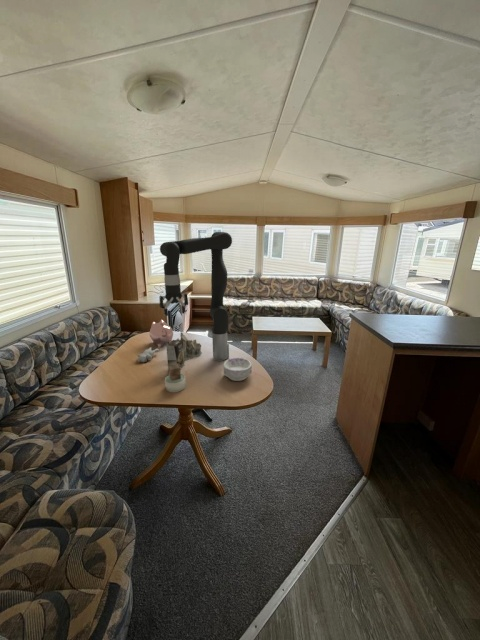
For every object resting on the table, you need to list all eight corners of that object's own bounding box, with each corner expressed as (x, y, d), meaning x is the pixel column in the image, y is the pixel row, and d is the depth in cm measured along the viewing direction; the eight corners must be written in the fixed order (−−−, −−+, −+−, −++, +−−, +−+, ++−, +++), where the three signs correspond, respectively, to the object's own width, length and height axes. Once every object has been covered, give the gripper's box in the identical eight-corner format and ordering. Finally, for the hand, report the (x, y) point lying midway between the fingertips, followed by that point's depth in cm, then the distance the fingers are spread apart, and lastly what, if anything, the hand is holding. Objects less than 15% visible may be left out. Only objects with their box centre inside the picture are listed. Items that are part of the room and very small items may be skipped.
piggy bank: (166, 337, 199) (165, 317, 194) (177, 344, 186) (176, 323, 181) (147, 342, 189) (144, 321, 185) (157, 349, 176) (154, 327, 171)
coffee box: (178, 372, 146) (176, 346, 141) (168, 371, 147) (165, 345, 142) (185, 365, 154) (183, 340, 150) (175, 364, 156) (172, 339, 151)
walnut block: (178, 374, 134) (177, 364, 132) (180, 378, 130) (179, 367, 128) (169, 376, 132) (168, 366, 130) (171, 380, 128) (170, 369, 126)
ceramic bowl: (182, 380, 139) (181, 371, 137) (188, 389, 130) (187, 379, 129) (163, 384, 134) (162, 375, 133) (168, 394, 126) (167, 385, 124)
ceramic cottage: (170, 359, 162) (170, 336, 158) (182, 350, 177) (182, 329, 173) (193, 363, 158) (193, 340, 154) (204, 353, 173) (204, 332, 169)
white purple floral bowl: (227, 386, 132) (226, 372, 130) (221, 372, 146) (220, 359, 144) (255, 381, 136) (255, 368, 134) (247, 368, 150) (247, 356, 148)
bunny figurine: (132, 356, 157) (147, 344, 170) (134, 363, 159) (148, 351, 172) (146, 358, 155) (160, 346, 168) (148, 365, 157) (161, 352, 170)
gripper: (183, 281, 137) (185, 310, 142) (156, 283, 131) (159, 314, 135) (188, 283, 131) (190, 314, 136) (159, 285, 124) (163, 318, 129)
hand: (175, 314), depth 136 cm, fingers open, 8 cm apart
